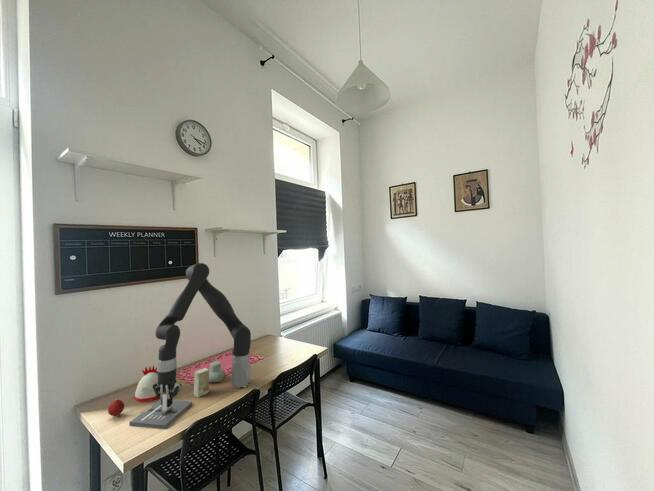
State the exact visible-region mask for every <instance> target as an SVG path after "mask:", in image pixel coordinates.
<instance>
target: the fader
mask: <svg viewBox="0 0 654 491" xmlns="http://www.w3.org/2000/svg"><path fill="white" fill-rule="evenodd" d="M171 408H172V406H170V407H167V394H166V391H165V392H164V393H163V404H162V411H161V414H165V413H166V412H167V411H169V410H170V409H171Z"/></svg>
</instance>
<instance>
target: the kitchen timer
mask: <svg viewBox="0 0 654 491" xmlns="http://www.w3.org/2000/svg"><path fill="white" fill-rule="evenodd" d="M141 372H142V374H143V376H142V377H141V379H140V380H139V381H138V382H137V385H136V390H135V393H134V400H135V401H136V402H139V403H147V402H151V401H155V400H158V399H159V398H160V397H157V395H156V393H155V391H154V389H153V387H152V386H153V385H154V384H155V383H157V382H158V366H157V367H155V366H154V364H153V366H151V365H150V366H149V367H147V366H145V368H144V369H142V370H141ZM158 392H159V391H158ZM160 399H161V398H160Z"/></svg>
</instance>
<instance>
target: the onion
mask: <svg viewBox="0 0 654 491" xmlns="http://www.w3.org/2000/svg"><path fill="white" fill-rule="evenodd" d="M124 409H125V403H124V402H123V400H121V399H118V398H115V399H114V400H113V402H112V403H110V404H109V406H108V408H107V413H108V415H110V416H112V417H114V418H116V417H118V416H119V415H120V414H122V413H123V411H124Z"/></svg>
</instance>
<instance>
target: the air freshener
mask: <svg viewBox="0 0 654 491" xmlns="http://www.w3.org/2000/svg"><path fill="white" fill-rule="evenodd" d="M225 375H226V371H225V369H223V368H222V362H221V361H212V362H210V364H209V383H212V382H214V383H218V381H219V382H220V381H222V380H223V379H224V377H225Z"/></svg>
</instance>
